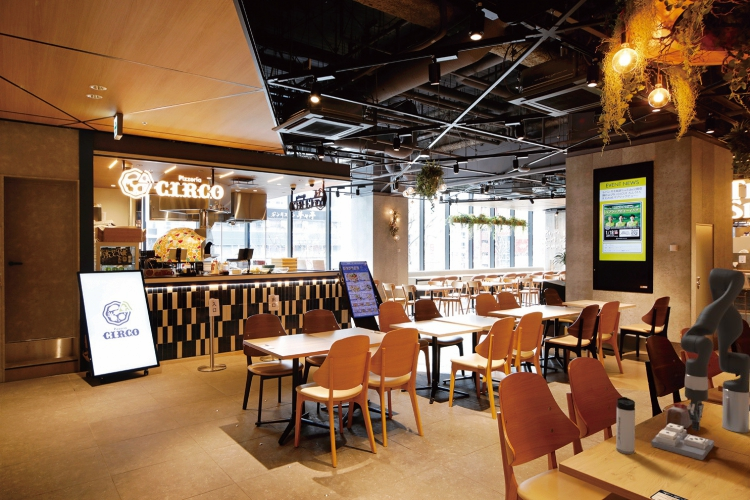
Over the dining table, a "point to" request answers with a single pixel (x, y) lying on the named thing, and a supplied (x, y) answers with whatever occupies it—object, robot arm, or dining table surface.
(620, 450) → the travel mug
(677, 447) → the button board
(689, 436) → the button three
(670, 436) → the button one
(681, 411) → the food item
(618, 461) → the dining table surface
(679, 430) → the button two
